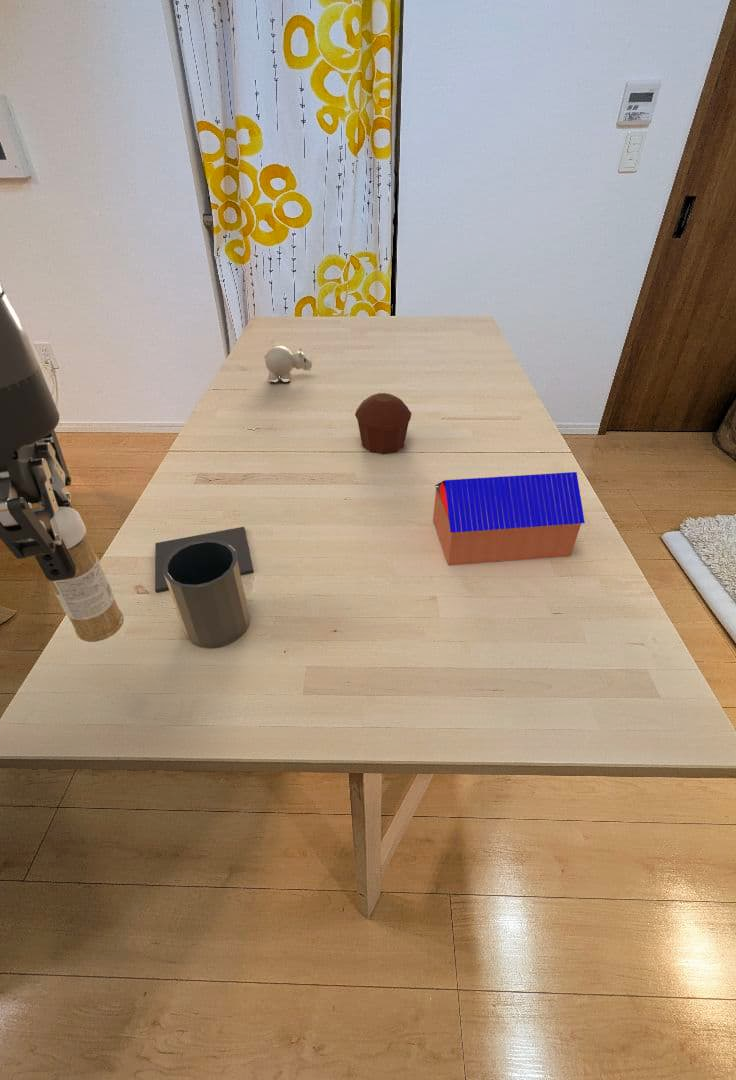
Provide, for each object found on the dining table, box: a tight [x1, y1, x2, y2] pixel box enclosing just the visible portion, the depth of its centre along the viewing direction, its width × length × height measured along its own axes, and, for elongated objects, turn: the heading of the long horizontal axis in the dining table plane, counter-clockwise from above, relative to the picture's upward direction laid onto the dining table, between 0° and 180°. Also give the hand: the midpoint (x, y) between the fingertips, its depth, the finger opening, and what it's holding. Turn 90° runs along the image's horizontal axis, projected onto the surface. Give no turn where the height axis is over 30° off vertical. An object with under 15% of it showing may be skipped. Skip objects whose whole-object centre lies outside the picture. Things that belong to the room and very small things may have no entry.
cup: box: [164, 540, 251, 649], centre depth 66 cm, size 9×9×11 cm
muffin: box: [354, 392, 412, 455], centre depth 105 cm, size 12×11×10 cm
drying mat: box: [154, 526, 254, 593], centre depth 80 cm, size 14×11×1 cm
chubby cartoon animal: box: [264, 345, 314, 380], centre depth 131 cm, size 7×12×8 cm, turn 97°
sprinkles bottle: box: [39, 507, 125, 643], centre depth 48 cm, size 5×5×14 cm
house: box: [432, 471, 586, 566], centre depth 80 cm, size 12×20×12 cm, turn 96°
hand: (67, 556), depth 46 cm, fingers closed on sprinkles bottle, 4 cm apart
